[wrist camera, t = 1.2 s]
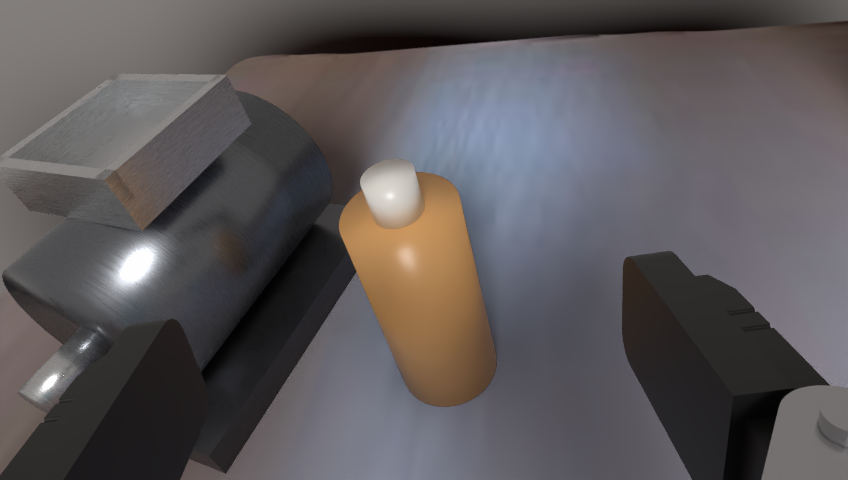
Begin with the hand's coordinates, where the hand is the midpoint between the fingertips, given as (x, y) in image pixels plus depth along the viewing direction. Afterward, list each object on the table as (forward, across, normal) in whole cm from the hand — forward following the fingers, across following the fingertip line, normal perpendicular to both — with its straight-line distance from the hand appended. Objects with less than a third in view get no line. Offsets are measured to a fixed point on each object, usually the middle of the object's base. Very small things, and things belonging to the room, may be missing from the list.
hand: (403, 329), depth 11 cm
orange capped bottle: (+18, 0, +16) cm, 24 cm away
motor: (+26, +14, +15) cm, 33 cm away
